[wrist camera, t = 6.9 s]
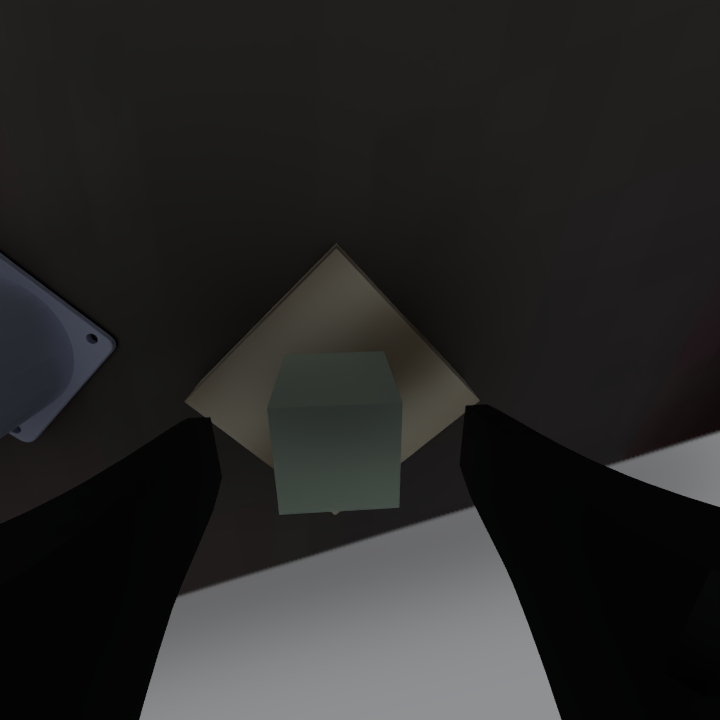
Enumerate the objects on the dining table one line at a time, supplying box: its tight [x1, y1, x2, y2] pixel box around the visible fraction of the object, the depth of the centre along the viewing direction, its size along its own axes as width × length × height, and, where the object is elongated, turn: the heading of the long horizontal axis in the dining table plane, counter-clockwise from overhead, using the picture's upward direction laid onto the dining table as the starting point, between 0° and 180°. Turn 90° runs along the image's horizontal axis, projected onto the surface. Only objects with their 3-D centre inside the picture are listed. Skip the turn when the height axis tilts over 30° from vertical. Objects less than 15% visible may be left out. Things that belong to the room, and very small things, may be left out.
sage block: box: [267, 351, 403, 515], centre depth 16 cm, size 4×4×5 cm
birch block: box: [184, 243, 480, 515], centre depth 20 cm, size 10×10×3 cm
